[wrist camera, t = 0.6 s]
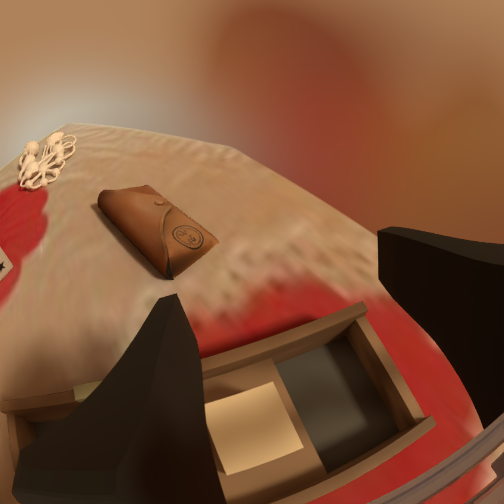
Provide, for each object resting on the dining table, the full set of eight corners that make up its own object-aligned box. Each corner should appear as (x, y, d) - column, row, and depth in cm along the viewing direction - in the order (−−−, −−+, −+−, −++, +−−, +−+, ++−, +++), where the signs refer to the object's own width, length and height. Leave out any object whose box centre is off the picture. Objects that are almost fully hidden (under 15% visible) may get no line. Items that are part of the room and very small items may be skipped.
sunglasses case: (226, 240, 36) (199, 218, 30) (191, 288, 36) (158, 275, 30) (145, 183, 44) (118, 161, 38) (118, 220, 43) (88, 202, 37)
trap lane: (411, 435, 21) (441, 423, 17) (55, 537, 12) (23, 540, 8) (347, 324, 29) (363, 296, 25) (26, 414, 20) (-5, 397, 16)
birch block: (294, 451, 19) (303, 447, 16) (230, 474, 17) (226, 475, 14) (268, 396, 22) (272, 381, 19) (207, 416, 20) (200, 405, 17)
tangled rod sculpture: (77, 182, 47) (72, 163, 44) (11, 204, 42) (3, 186, 39) (78, 139, 58) (75, 123, 55) (24, 156, 53) (20, 141, 50)
